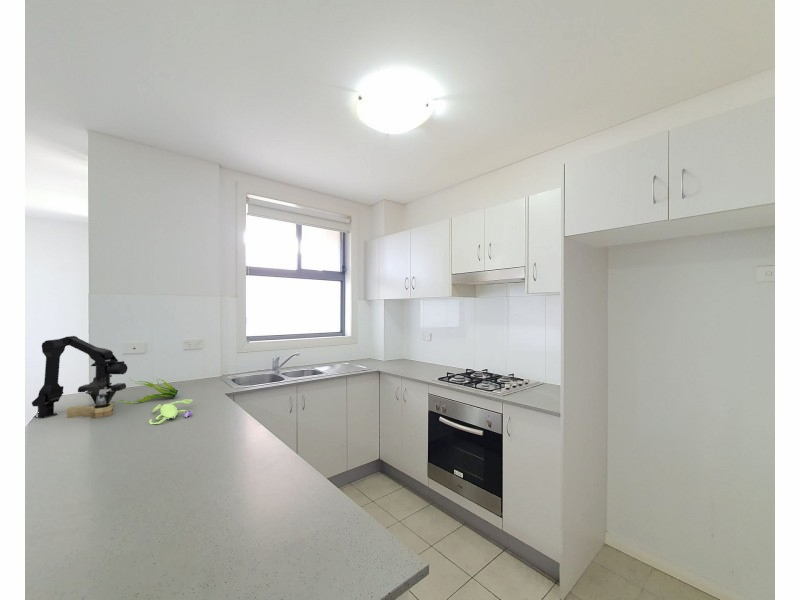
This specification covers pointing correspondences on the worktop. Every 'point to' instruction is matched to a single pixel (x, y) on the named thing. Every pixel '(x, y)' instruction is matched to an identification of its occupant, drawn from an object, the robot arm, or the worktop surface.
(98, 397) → the hinge pin
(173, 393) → the decorative plant
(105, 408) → the hinge
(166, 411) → the figurine
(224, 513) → the worktop surface
